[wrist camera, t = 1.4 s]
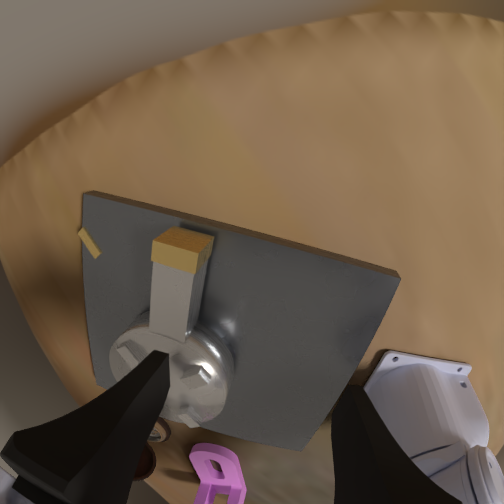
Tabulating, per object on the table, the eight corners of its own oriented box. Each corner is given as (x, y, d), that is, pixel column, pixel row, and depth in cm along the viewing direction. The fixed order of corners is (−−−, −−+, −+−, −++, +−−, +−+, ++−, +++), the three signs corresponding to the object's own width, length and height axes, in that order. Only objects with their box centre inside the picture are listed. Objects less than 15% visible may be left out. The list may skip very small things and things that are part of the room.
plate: (396, 270, 18) (402, 279, 17) (302, 442, 26) (301, 452, 24) (90, 189, 20) (78, 193, 18) (99, 376, 27) (93, 383, 26)
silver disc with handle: (224, 409, 23) (213, 443, 20) (129, 375, 24) (110, 403, 20) (267, 249, 17) (258, 277, 14) (131, 213, 18) (96, 230, 15)
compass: (176, 420, 28) (152, 472, 21) (164, 447, 31) (144, 490, 24) (111, 386, 28) (78, 432, 21) (108, 418, 31) (83, 457, 24)
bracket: (246, 489, 32) (237, 528, 26) (209, 483, 33) (196, 521, 27) (235, 445, 28) (221, 496, 21) (187, 438, 29) (168, 485, 22)
